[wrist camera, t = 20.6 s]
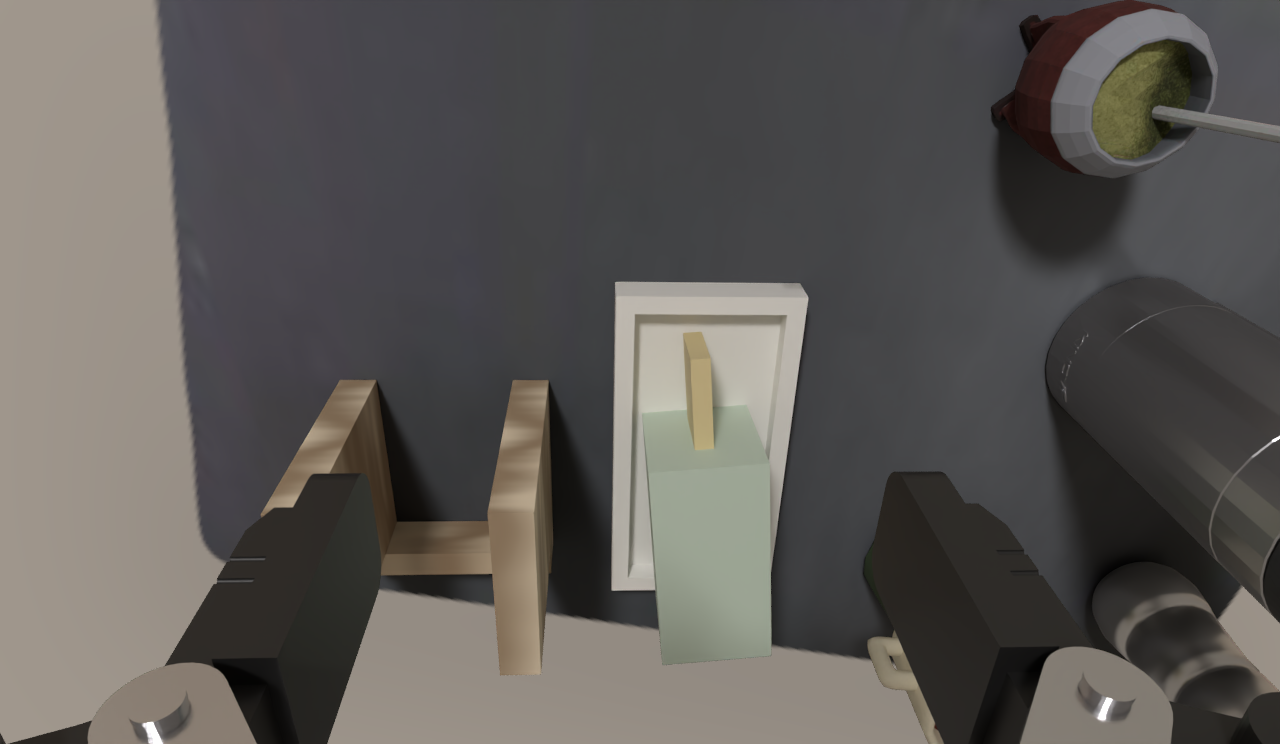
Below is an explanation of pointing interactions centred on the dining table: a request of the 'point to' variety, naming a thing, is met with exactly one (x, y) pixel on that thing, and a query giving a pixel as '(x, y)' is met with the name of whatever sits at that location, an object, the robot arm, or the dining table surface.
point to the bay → (498, 546)
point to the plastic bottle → (1175, 638)
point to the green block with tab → (708, 523)
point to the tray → (655, 381)
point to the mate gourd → (1116, 89)
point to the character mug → (898, 668)
